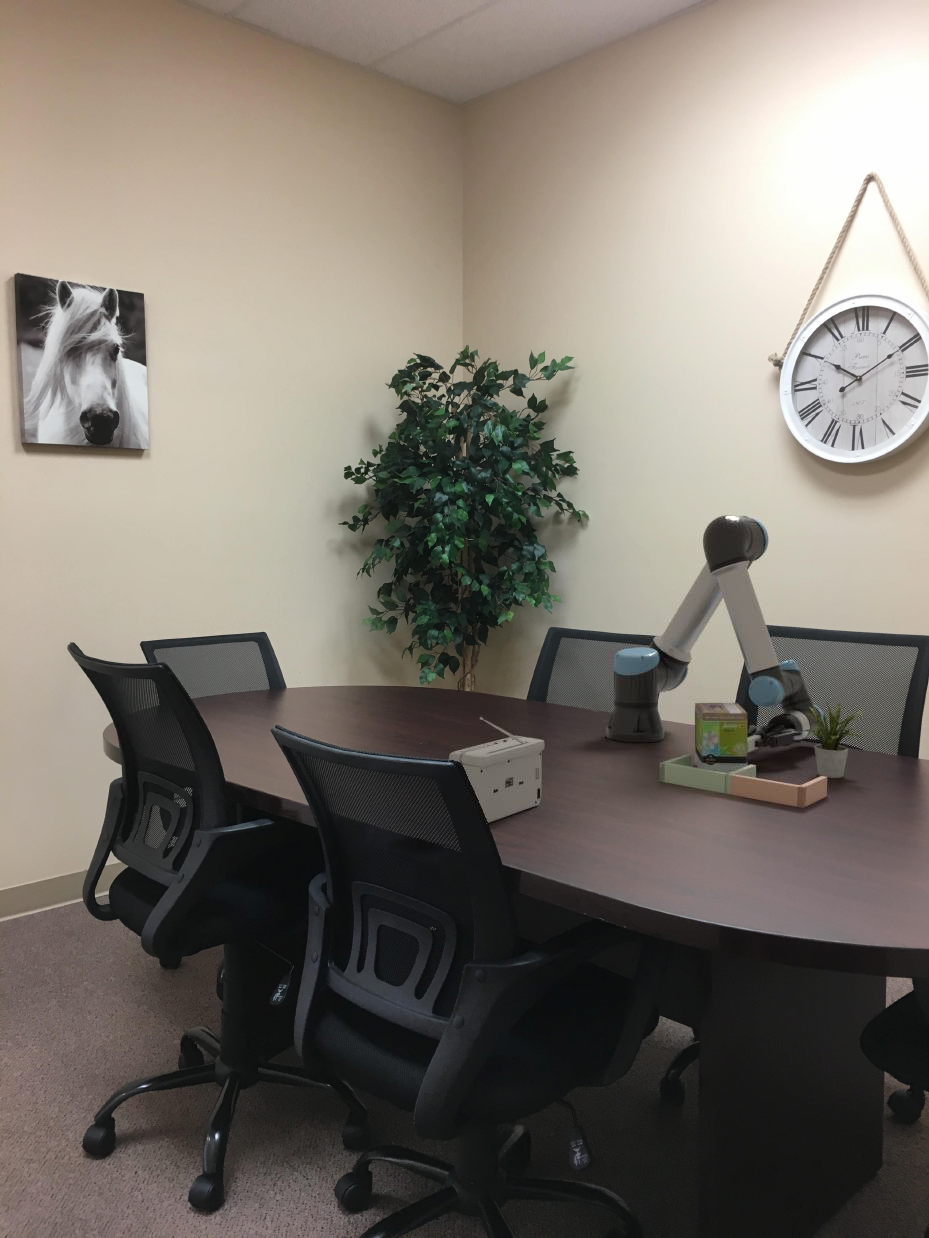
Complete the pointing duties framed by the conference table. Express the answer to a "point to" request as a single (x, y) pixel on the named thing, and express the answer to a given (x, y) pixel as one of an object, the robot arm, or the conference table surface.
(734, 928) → the conference table surface
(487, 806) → the stereo radio cassette player
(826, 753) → the house plant
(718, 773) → the green bay
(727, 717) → the tea box
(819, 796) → the terracotta bay
